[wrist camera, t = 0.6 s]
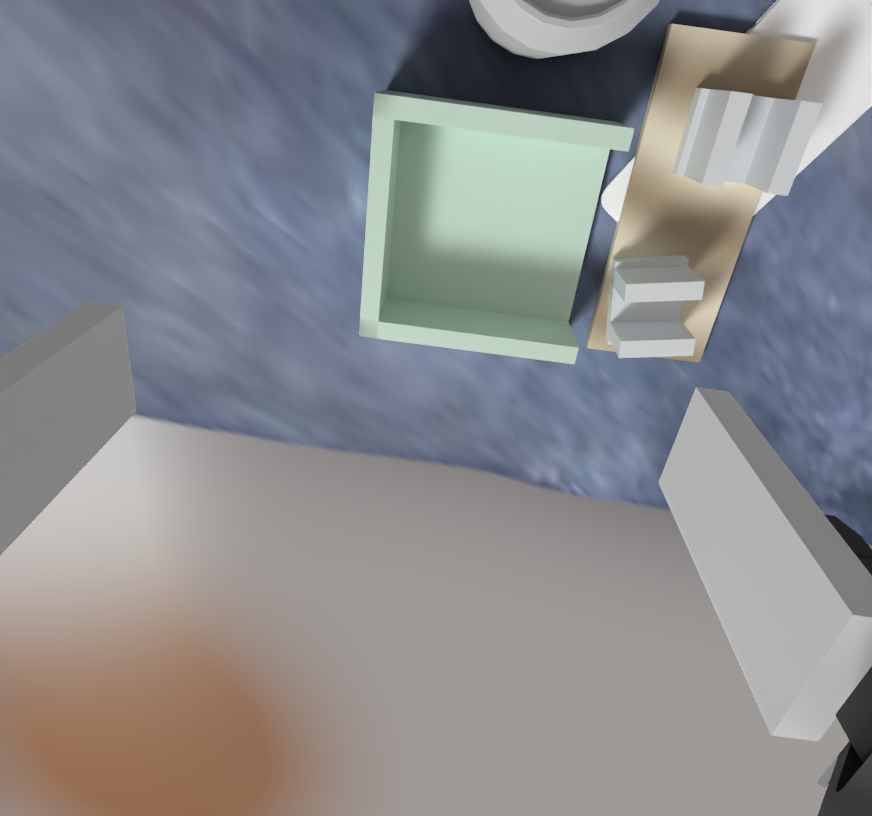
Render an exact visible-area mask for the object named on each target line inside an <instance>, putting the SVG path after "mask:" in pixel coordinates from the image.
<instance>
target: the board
mask: <svg viewBox="0 0 872 816" xmlns="http://www.w3.org/2000/svg"><path fill="white" fill-rule="evenodd" d="M814 47H815V43H807V42H800V41H793V40H786V39H779V38H772V37H765V36H757V35H750V34H743V33H736V32H729V31H722V30H715V29H708V28H700V27H693V26H686V25H679V24H669V25H668V29H667V32H666V36H665V40H664V44H663V48H662V52H661V56H660V59H659V63H658V67H657V71H656V75H655V79H654V82H653V86H652V90H651V94H650V98H649V102H648V106H647V109H646V113H645V117H644V121H643V125H642V129H641V133H640V136H639V140H638V144H637V148H636V152H635V160H634V164H633V168H632V172H631V175H630V179H629V183H628V187H627V191H626V194H625V198H624V202H623V206H622V210H621V213H620V217H619V221H618V222H617V225H616V229H615V233H614V237H613V240H612V244H611V248H610V252H609V256H608V260H607V264H606V267H605V271H604V275H603V279H602V283H601V287H600V291H599V294H598V298H597V302H596V306H595V310H594V314H593V318H592V321H591V325H590V329H589V333H588V337H587V341H586V346H587V348H591V349H599V350H606V351H614V352H615V350H614V348H613V346H612V345H608V343H607V341H606V329H607V317H608V305H609V293H610V282H611V270H612V258H626V257H650V256H675V255H685V256H686V257H687V258H688V259H689V262H688V267H690V268H691V269H692V270H693V271H694V272H695V273H696V274H697V275H698V276H700V277H701V278H702V279H703V280H704V281H705V284H704V290H703V296H702V300H684V301H683V304H682V311H681V317H680V321H681V322H682V323H683V324H684V326H685V327H686V328H687V329H688V330H689V332H690V333H691V334H692V335H693V336H694V337H695V339H696V340H695V346H694V352H693V356H670V357H660V358H668V359H675V360H683V361H691V362H698V363H700V360H701V357H702V355H703V352H704V349H705V346H706V344H707V341H708V338H709V335H710V333H711V330H712V327H713V324H714V322H715V319H716V316H717V313H718V311H719V308H720V305H721V302H722V300H723V297H724V294H725V291H726V289H727V286H728V283H729V280H730V278H731V275H732V272H733V269H734V267H735V264H736V261H737V258H738V256H739V253H740V250H741V247H742V245H743V242H744V239H745V236H746V234H747V231H748V228H749V225H750V223H751V220H752V217H753V214H754V212H755V209H756V206H757V203H758V201H759V198H760V195H761V192H762V191H761V190H759V189H756V188H754V187H751V186H749V185H747V184H744V183H736V182H729V181H724V183H723V186H722V187H719V186H711V185H704V184H700V183H698V182H696V181H694V180H692V179H690V178H688V177H686V176H684V175H677V174H675V173H673V172H672V170H673V166H674V163H675V159H676V156H677V152H678V149H679V145H680V142H681V139H682V135H683V132H684V128H685V125H686V121H687V118H688V114H689V111H690V108H691V104H692V101H693V97H694V94H695V90H696V88H704V89H713V90H725V91H735V92H742V93H749V94H753V95H755V96H762V97H769V98H778V99H788V100H795V99H796V96H797V93H798V91H799V88H800V85H801V82H802V80H803V77H804V74H805V71H806V69H807V66H808V63H809V60H810V58H811V55H812V52H813V49H814Z"/></svg>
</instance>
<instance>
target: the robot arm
mask: <svg viewBox="0 0 872 816" xmlns="http://www.w3.org/2000/svg"><path fill="white" fill-rule="evenodd" d="M135 412H136V403H135V395H134V388H133V380H132V372H131V364H130V357H129V349H128V341H127V334H126V326H125V318H124V311H123V306H121V305H114V304H107V303H100V302H93V301H88V302H86V303H85V304H83V305H81V306H80V307H78V308H77V309H75V310H74V311H72V312H70V313H69V314H67V315H66V316H64V317H63V318H61V319H59V320H58V321H56V322H55V323H53V324H52V325H50V326H48V327H47V328H45V329H44V330H42V331H41V332H39V333H38V334H36V335H34V336H33V337H31V338H30V339H28V340H27V341H25V342H23V343H22V344H20V345H19V346H17V347H16V348H14V349H12V350H11V351H9V352H8V353H6V354H5V355H3V356H1V357H0V555H1V554H2V553H3V552H4V551H5V550H6V549H7V548H8V546H9V545H10V544H11V543H12V542H13V541H14V540H15V539H16V538H17V537H18V536H19V535H20V534H21V533H22V532H23V531H24V529H25V528H26V527H27V526H28V525H29V524H30V523H31V522H32V521H33V520H34V519H35V518H36V517H37V516H38V515H39V514H40V513H41V512H42V511H43V509H44V508H45V507H46V506H47V505H48V504H49V503H50V502H51V501H52V500H53V499H54V498H55V497H56V495H58V494H59V492H60V491H61V490H62V489H63V488H64V487H65V486H66V485H67V484H68V483H69V482H70V481H71V480H72V479H73V478H74V477H75V475H77V473H78V472H79V471H80V470H81V469H82V468H83V467H84V466H85V465H86V464H87V463H88V462H89V461H90V459H92V458H93V456H94V455H95V454H96V453H97V452H98V451H99V450H100V449H101V448H102V447H103V446H104V445H105V444H106V443H107V441H109V439H110V438H111V437H112V436H113V435H114V434H115V433H116V432H117V431H118V430H119V429H120V428H121V427H122V426H123V425H124V423H125V422H127V420H128V419H129V418H130V417H131V416H132V415H133V414H134V413H135ZM659 485H660V487H661V489H662V492H663V494H664V496H665V498H666V501H667V503H668V505H669V507H670V510H671V512H672V514H673V516H674V519H675V521H676V523H677V525H678V528H679V530H680V532H681V534H682V537H683V538H684V541H685V543H686V545H687V547H688V550H689V552H690V554H691V557H692V559H693V561H694V563H695V566H696V568H697V570H698V572H699V575H700V577H701V579H702V581H703V583H704V586H705V588H706V590H707V593H708V595H709V597H710V599H711V601H712V604H713V606H714V608H715V610H716V613H717V615H718V617H719V619H720V622H721V624H722V626H723V629H724V631H725V633H726V635H727V638H728V640H729V642H730V644H731V647H732V649H733V651H734V653H735V655H736V658H737V660H738V662H739V664H740V667H741V669H742V671H743V674H744V676H745V678H746V680H747V682H748V685H749V687H750V689H751V691H752V694H753V696H754V698H755V700H756V703H757V705H758V707H759V709H760V712H761V714H762V716H763V718H764V721H765V723H766V725H767V727H768V729H769V732H770V734H771V735H772V736H780V737H789V738H796V739H804V740H811V741H819V740H820V738H821V737H822V736H823V734H824V733H825V732H826V730H827V729H828V728H829V726H830V725H831V724H832V722H833V721H834V720H835V718H836V717H837V718H838V720H839V722H840V724H841V726H842V728H843V729H844V731H845V733H846V734H847V737H848V738H849V740H850V741H849V742H848V744H847V745H846V746H845V747H844V749H843V750H842V751H841V752H840V754H839V755H838V756H837V757H836V759H835V760H834V761H833V762H832V764H831V765H830V766H829V767H828V769H827V770H826V772H825V773H824V774H823V775H822V776H821V778H820V779H819V780H818V781H817V783H818V784H820V785H821V786H822V787H825V786H826V785H827V784H828V783H829V785H828V787H827V790H826V793H825V796H824V799H823V802H822V805H821V808H820V811H819V814H818V816H872V549H871V548H870V547H869V546H868V544H867V543H866V542H865V541H864V539H863V538H862V537H861V536H860V535H859V534H857V533H856V532H855V531H854V530H852V529H851V528H850V527H848V526H847V525H846V524H844V523H843V522H842V521H841V520H839V519H838V518H837V517H835V516H831V515H824V514H823V512H822V511H821V510H820V508H819V507H818V506H817V505H816V503H815V502H814V501H813V499H812V498H811V497H810V496H809V494H808V493H807V492H806V490H805V489H804V488H803V487H802V485H801V484H800V483H799V481H798V480H797V479H796V478H795V476H794V475H793V474H792V472H791V471H790V470H789V469H788V467H787V466H786V465H785V463H784V462H783V461H782V460H781V458H780V457H779V456H778V454H777V453H776V452H775V451H774V449H773V448H772V447H771V445H770V444H769V443H768V442H767V440H766V439H765V438H764V436H763V435H762V434H761V433H760V431H759V430H758V429H757V427H756V426H755V425H754V424H753V422H752V421H751V420H750V418H749V417H748V416H747V415H746V413H745V412H744V411H743V409H742V408H741V407H740V406H739V404H738V403H737V402H736V400H735V399H734V398H733V397H732V395H731V394H730V393H729V392H727V391H720V390H713V389H706V388H699V387H696V389H695V391H694V394H693V396H692V399H691V401H690V404H689V406H688V409H687V411H686V414H685V417H684V419H683V422H682V424H681V427H680V429H679V432H678V434H677V437H676V440H675V442H674V445H673V447H672V450H671V452H670V455H669V457H668V460H667V462H666V465H665V468H664V470H663V473H662V475H661V478H660V480H659Z"/></svg>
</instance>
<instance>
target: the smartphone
mask: <svg viewBox="0 0 872 816" xmlns="http://www.w3.org/2000/svg"><path fill="white" fill-rule="evenodd" d="M745 34H750V35H757V36H765V37H772V38H779V39H786V40H793V41H800V42H807V43H815V47H814V49H813V52H812V55H811V58H810V60H809V63H808V66H807V69H806V71H805V74H804V77H803V80H802V82H801V85H800V88H799V91H798V93H797V96H796V99H795V100H799V101H807V102H814V103H821V104H823V105H822V108H821V111H820V113H819V116H818V118H817V121H816V124H815V126H814V129H813V131H812V134H811V137H810V139H809V142H808V144H807V147H806V150H805V152H804V155H803V157H802V160H801V163H800V165H799V168H798V170H797V173H796V176H797V175H798V174H799V173H800V172H801V171H802V170H803V169H804V168H805V167H806V166H807V165H808V164H809V163H811V162H812V161H813V160H814V159H815V158H816V157H817V156H818V155H819V154H820V153H821V152H822V151H823V150H825V149H826V148H827V147H828V146H829V145H830V144H831V143H832V142H833V141H834V140H835V139H836V138H837V137H839V136H840V135H841V134H842V133H843V132H844V131H845V130H846V129H847V128H848V127H849V126H850V125H851V124H853V123H854V122H855V121H856V120H857V119H858V118H859V117H860V116H861V115H862V114H863V113H864V112H865V111H867V110H868V109H869V108H870V107H871V106H872V0H776V1H775V2H774V3H773V4H772V5H771V6H770V7H769V8H768V10H767V11H766V12H765V13H764V14H763V15H762V16H761V17H760V18H759V19H758V20H757V21H756V24H755V25H754V26H753V27H752V28H750V29H749V30H748V31H747V32H746V33H745ZM634 160H635V156H633V157H632V158H631V160H630V161H629V162H628V163H627V164H626V165H625V166H624V167H623V168H622V169H621V170H620V171H619V173H618V174H617V175H616V176H615V177H614V178H613V179H612V180H611V181H610V182H609V183H608V185H607V186H606V187H605V189H604V190H603V192H602V195H601V204H602V206H603V208H604V209H605V210H606V211H607V212H608V213H609V214H610V215H611V216H612V217H613V218H614V219H615V220H616V221H617V222H618V221H619V217H620V213H621V210H622V206H623V202H624V198H625V194H626V191H627V187H628V183H629V179H630V175H631V172H632V168H633V164H634ZM796 176H795V177H796ZM775 195H776V194H770V193H766V192H763V191H762V192H761V195H760V198H759V201H758V203H757V206H756V209H755V212H754V214H753V216H754V215H755V214H756V213H757V212H758V211H759V210H760V209H761V208H762V207H763V206H764V205H765V204H766V203H768V202H769V201H770V200H771V199H772V198H773V197H774V196H775Z"/></svg>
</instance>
